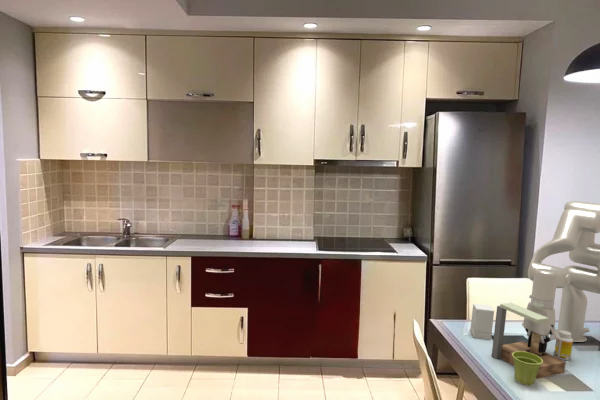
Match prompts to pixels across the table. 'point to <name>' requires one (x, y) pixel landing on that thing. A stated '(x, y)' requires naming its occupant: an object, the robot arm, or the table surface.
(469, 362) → the table surface
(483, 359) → the table surface
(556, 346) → the supplement bottle
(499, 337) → the awning
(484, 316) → the supplement box
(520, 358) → the plant pot
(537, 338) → the peg
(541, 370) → the socket block
